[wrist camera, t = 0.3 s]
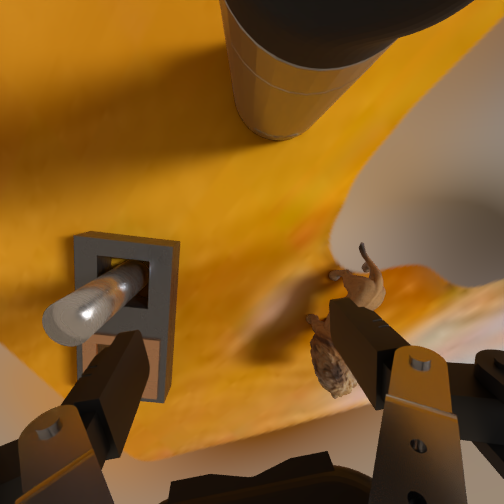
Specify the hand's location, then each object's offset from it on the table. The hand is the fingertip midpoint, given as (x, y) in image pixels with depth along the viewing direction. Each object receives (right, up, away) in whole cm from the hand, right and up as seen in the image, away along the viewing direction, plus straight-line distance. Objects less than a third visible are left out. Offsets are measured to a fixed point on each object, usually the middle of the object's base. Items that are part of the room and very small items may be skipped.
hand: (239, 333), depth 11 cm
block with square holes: (-14, -4, +21) cm, 26 cm away
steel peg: (-13, +1, +20) cm, 24 cm away
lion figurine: (+11, -3, +21) cm, 24 cm away
